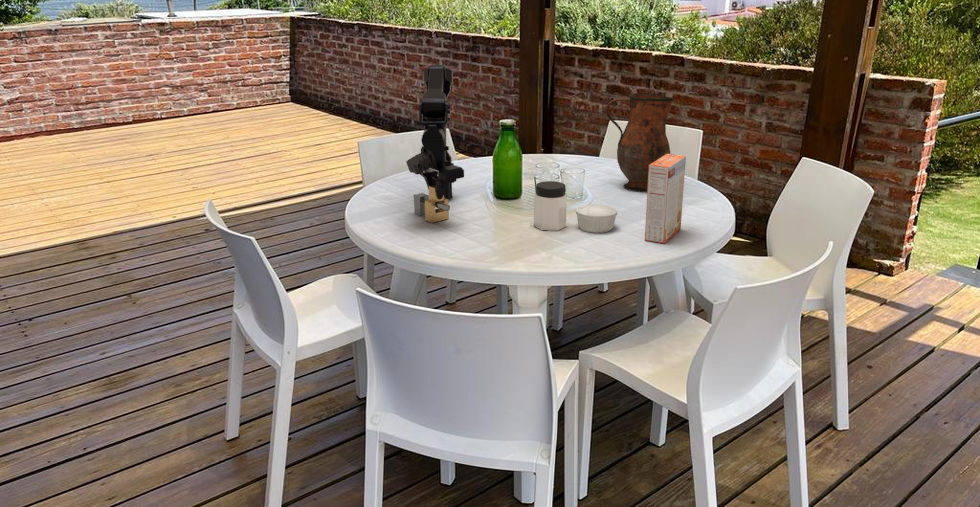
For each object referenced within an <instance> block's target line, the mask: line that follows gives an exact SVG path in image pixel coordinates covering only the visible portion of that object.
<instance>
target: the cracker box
mask: <svg viewBox="0 0 980 507" xmlns="http://www.w3.org/2000/svg"><path fill="white" fill-rule="evenodd" d="M686 160H687V156H686V155H681V154H679V155H678V154H674V153H673V154H672V153H671V154H666V155H664V156H662V157H661V158H659V159H658V160H656V161H655V162H653V163H651V164H650V165H649V170H648V189H647V192H646V208H645V210H646V211H645V228H644V241H645V242H652V243H660V244H666V243H667V242H668V241H669V240H670V239H671V238H672V237H673V236H675V235H676V234H677V233H678V232H679V231H680V230H681V229H682V228H681V227H682V218H683V217H682V216H683V201H684V191H685V190H684V189H685V188H684V187H685V175H686V165H687V164H686V163H687V162H686Z"/></svg>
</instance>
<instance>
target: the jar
mask: <svg viewBox="0 0 980 507" xmlns="http://www.w3.org/2000/svg"><path fill="white" fill-rule="evenodd" d="M566 192H567V188H566V184H565V183H563V182H560V181H555V180H554V181H551V180H549V181H548V180H547V181H546V180H545V181H541V182H538V183H536V184H535V193H534V194H533V227H535V228H537V229H538V228H539V229H538V230H540V231H542V230H548V231H549V232H550V231H551V232H559V231H560V230H562V229H563V228H566V227H567V207H568V206H567V202H568V199H567V198H568V194H566Z"/></svg>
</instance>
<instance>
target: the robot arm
mask: <svg viewBox="0 0 980 507" xmlns="http://www.w3.org/2000/svg"><path fill="white" fill-rule="evenodd" d="M453 76H454V74H453V70H452V69H451V68H447V67H446V65H443V64H430V65H428V67H427V68H426V69H424V70H423V85H424V86H425V87H426V92H423V94H422V96H421V100H419V110H418V111H419V112H418V118H419V119H418V124H419V125H421V126H422V125H424V126H423V133H422V135H421V140H420V141H421V144H422V146H421V148H420V152H419V153H418V154H415V155H413V157H410V158H409V159H407V160H406V161H405V163H406V165H407V167H408V171H409V173H413V174H415V175H419V176H421V177H423V179H424V181H425V183H426V186H427V189H428V190H429V186H431V185H436V186H437V195H438V199H442V198H443V196H444V198H446V199H448V201H450V200H451V199H453V184H454V183H455V182H457V179H463V178H465V169H464V168H462V166H458V165H455V164H454V163H453V160H452V159H453V158H452V156H451V154H450V153H449V151H450V148H449V146H448V145H447V126H448V124H449V122H450V121H451V104H450V103H449V101H448V100H447V98H448V97H449V95H450V93H451V88H452V86H453V85H454V77H453Z"/></svg>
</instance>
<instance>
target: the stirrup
mask: <svg viewBox="0 0 980 507" xmlns="http://www.w3.org/2000/svg"><path fill="white" fill-rule="evenodd" d="M428 196H429V200H426V201H425V216H424V217H425V221H427V222H429V223H432V224H433V223H437V222H441V221H446V220H449V219H450V218H449V217H450V216H449V213H450V210H449V211H445V210H442V209H439V208H436V207H435V202H438V201H439V202H442V203H444V204H447V205H449V200H448V199H446V198H444V196H443V198H442V199H438V195H437V186H436V185H431V186H429V189H428ZM430 200H431V201H430ZM433 201H434V202H433Z"/></svg>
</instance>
